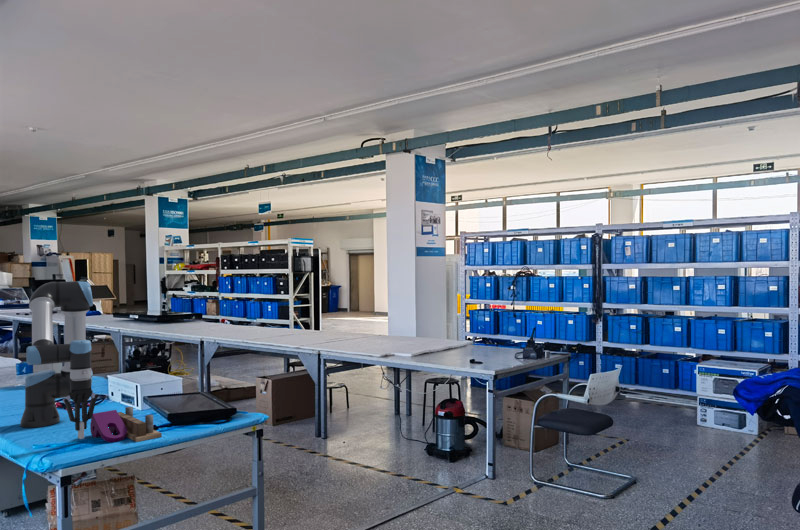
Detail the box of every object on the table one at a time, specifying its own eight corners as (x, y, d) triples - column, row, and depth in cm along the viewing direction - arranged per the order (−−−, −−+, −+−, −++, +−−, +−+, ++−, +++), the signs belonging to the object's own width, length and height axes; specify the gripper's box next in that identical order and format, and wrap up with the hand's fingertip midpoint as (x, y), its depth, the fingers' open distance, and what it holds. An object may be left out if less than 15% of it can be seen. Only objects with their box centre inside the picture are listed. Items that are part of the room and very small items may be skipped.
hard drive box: (63, 385, 355) (62, 353, 355) (52, 387, 348) (52, 354, 348) (43, 384, 359) (43, 352, 360) (32, 386, 352) (32, 354, 352)
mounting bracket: (127, 452, 236) (113, 426, 248) (130, 435, 234) (116, 409, 245) (102, 457, 229) (89, 430, 241) (105, 440, 227) (92, 413, 239)
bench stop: (108, 427, 252) (108, 408, 252) (132, 423, 259) (131, 404, 259) (136, 442, 229) (136, 420, 229) (161, 436, 236) (161, 416, 236)
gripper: (65, 382, 222) (65, 443, 222) (101, 377, 232) (101, 436, 232) (59, 380, 228) (59, 439, 227) (94, 375, 237) (95, 433, 237)
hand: (81, 438), depth 229 cm, fingers closed
